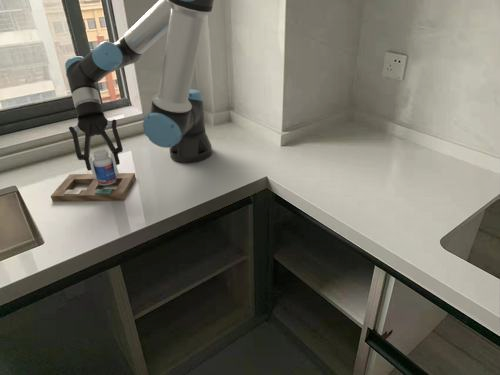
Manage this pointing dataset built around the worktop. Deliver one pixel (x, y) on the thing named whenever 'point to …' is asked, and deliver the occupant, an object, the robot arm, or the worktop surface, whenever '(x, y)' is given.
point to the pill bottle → (104, 168)
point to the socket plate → (92, 188)
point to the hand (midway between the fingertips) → (106, 177)
